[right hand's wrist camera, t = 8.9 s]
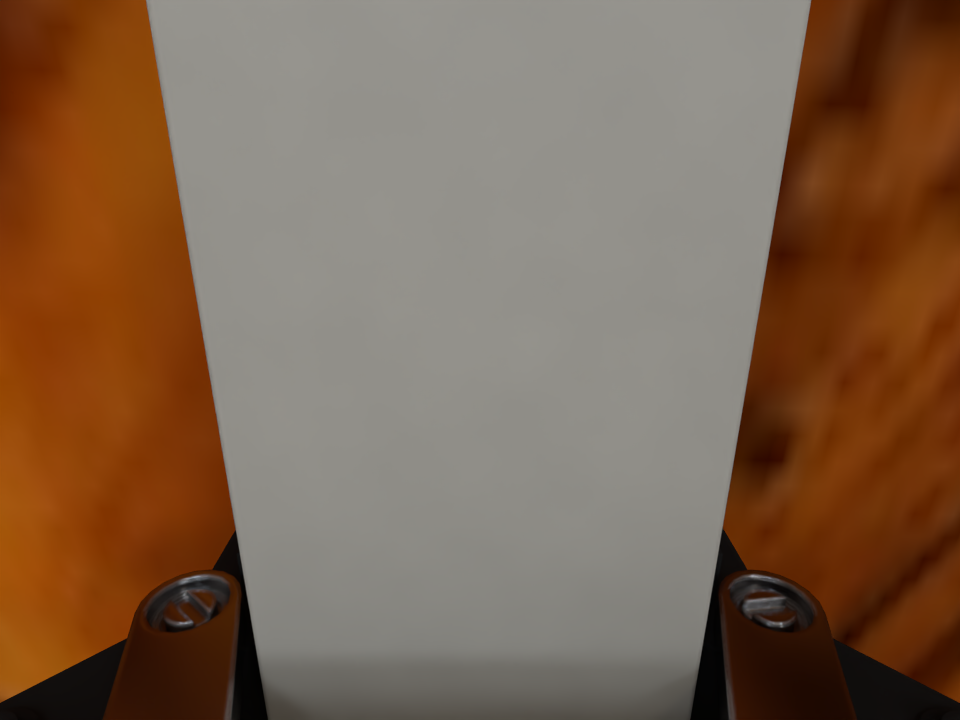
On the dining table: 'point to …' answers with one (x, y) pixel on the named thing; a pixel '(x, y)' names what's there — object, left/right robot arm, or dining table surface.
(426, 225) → the bar
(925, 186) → the dining table surface
